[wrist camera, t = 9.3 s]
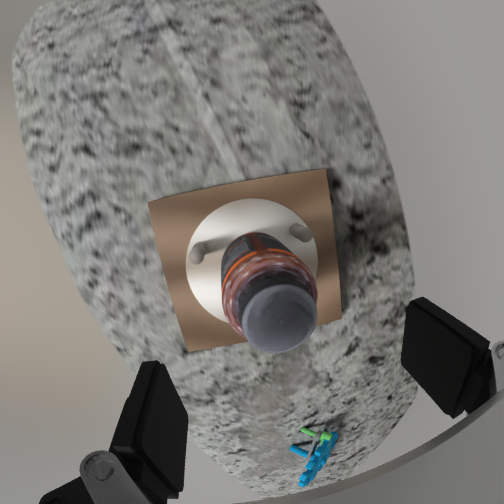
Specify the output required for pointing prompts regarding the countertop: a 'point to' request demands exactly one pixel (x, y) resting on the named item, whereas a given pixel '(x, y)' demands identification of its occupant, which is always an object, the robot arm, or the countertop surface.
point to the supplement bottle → (268, 293)
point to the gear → (315, 453)
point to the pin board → (232, 226)
